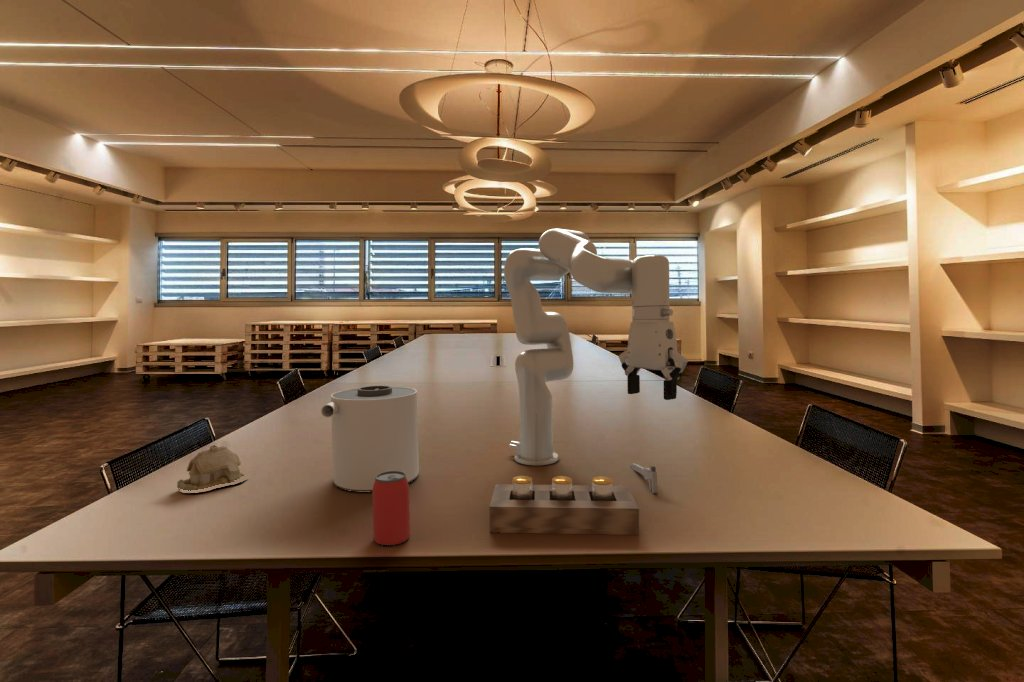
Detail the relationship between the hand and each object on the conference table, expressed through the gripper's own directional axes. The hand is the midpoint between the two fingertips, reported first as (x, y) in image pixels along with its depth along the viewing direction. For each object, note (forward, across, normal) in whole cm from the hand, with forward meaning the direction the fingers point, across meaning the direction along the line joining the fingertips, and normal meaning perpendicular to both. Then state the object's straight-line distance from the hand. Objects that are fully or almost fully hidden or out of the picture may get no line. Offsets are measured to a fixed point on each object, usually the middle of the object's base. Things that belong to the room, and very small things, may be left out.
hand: (651, 396), depth 100 cm
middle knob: (+20, +6, +20) cm, 29 cm away
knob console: (+24, +6, +20) cm, 31 cm away
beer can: (+24, +18, +51) cm, 59 cm away
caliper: (+24, +13, -12) cm, 30 cm away
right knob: (+20, +1, +13) cm, 24 cm away
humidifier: (+23, +52, +45) cm, 72 cm away
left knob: (+20, +11, +26) cm, 35 cm away
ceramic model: (+23, +71, +78) cm, 108 cm away
